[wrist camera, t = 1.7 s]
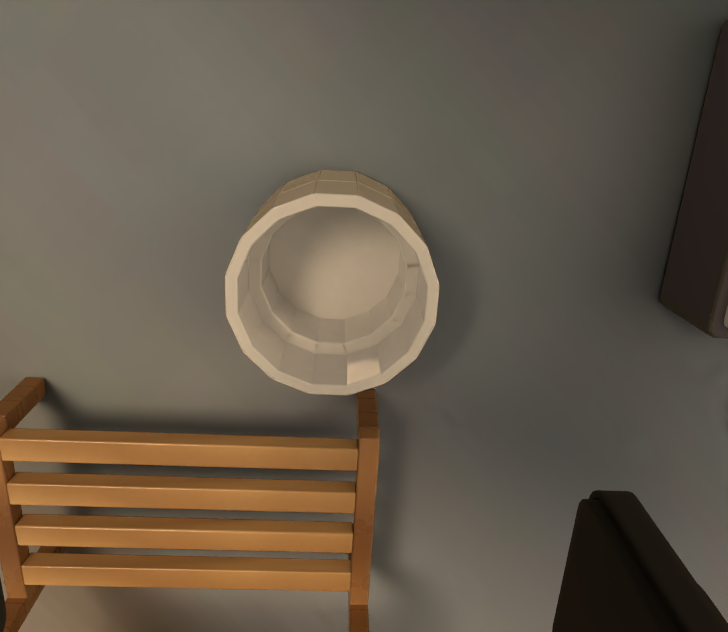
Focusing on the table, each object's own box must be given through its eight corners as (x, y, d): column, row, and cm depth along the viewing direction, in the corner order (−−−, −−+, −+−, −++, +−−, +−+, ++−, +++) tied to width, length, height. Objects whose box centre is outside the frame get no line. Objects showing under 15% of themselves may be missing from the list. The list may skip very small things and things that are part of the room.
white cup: (248, 164, 24) (222, 188, 18) (426, 173, 24) (448, 199, 19) (250, 329, 26) (227, 391, 21) (412, 335, 26) (428, 398, 21)
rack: (25, 376, 27) (-149, 540, 17) (375, 389, 27) (391, 552, 18) (68, 653, 32) (-44, 887, 23) (357, 657, 33) (362, 886, 24)
